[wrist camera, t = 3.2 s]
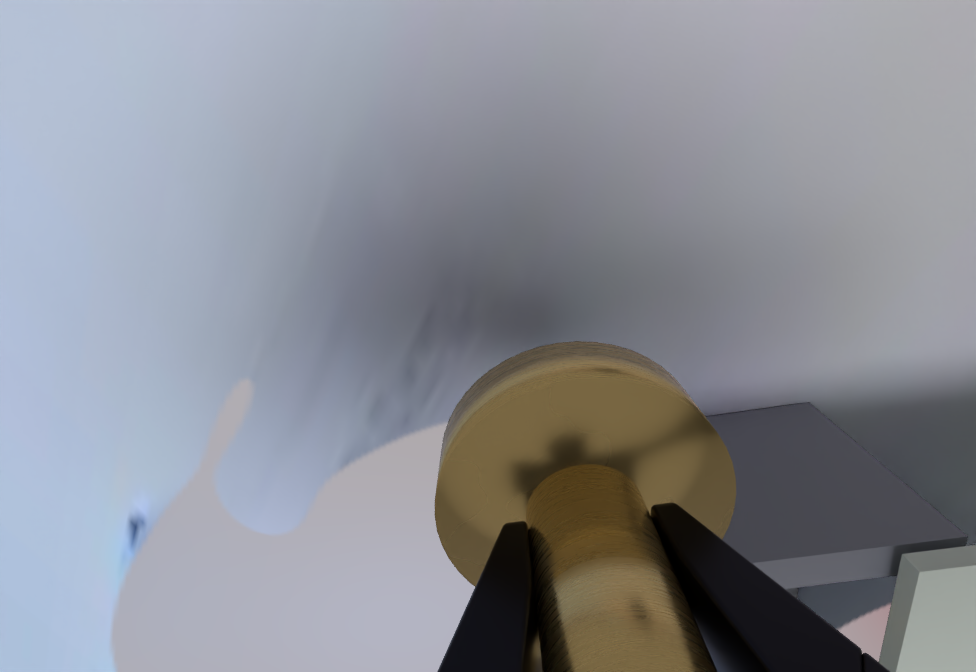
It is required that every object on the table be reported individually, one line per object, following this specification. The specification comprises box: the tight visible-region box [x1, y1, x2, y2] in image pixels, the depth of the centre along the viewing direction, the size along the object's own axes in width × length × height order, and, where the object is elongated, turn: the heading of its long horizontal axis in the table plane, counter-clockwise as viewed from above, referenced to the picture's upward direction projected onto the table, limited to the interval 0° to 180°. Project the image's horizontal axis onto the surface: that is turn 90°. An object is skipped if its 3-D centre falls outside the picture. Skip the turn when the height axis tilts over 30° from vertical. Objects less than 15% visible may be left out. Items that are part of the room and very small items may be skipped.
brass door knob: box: [435, 341, 736, 672], centre depth 8 cm, size 6×6×6 cm
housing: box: [706, 402, 968, 598], centre depth 21 cm, size 13×17×7 cm
